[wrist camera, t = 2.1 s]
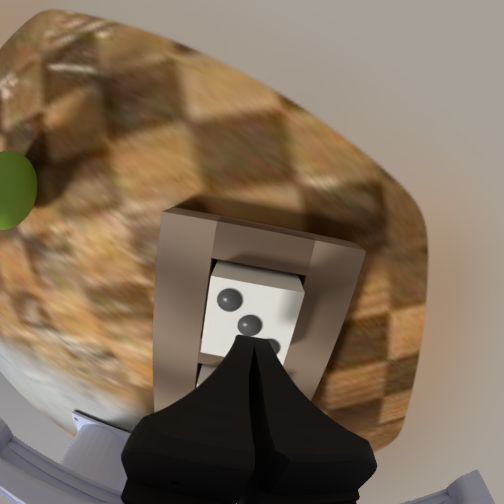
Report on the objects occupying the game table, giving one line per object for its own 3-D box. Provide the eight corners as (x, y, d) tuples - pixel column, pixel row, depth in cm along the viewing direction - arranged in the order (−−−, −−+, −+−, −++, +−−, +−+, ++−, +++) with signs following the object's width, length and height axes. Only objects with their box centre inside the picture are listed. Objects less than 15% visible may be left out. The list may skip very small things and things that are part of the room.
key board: (270, 461, 22) (271, 476, 21) (162, 443, 22) (158, 457, 20) (354, 242, 16) (366, 251, 14) (172, 207, 16) (161, 211, 14)
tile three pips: (279, 341, 17) (282, 366, 14) (207, 328, 17) (200, 353, 14) (297, 274, 16) (305, 293, 13) (218, 259, 15) (210, 276, 13)
